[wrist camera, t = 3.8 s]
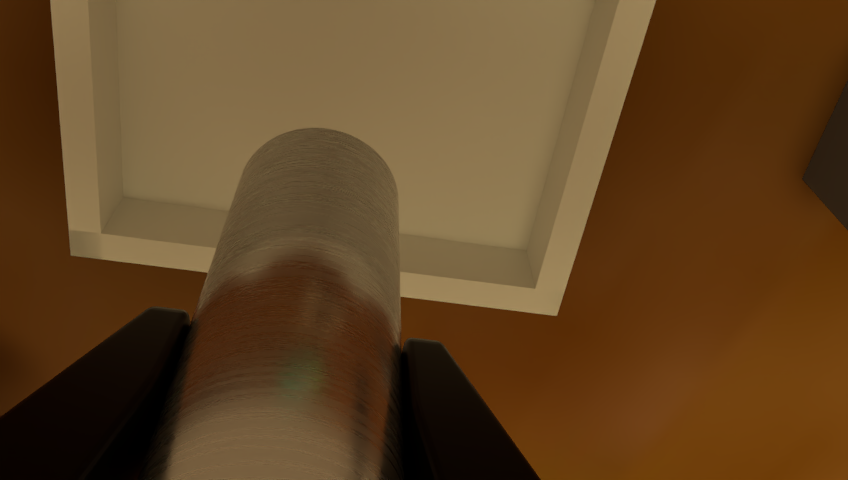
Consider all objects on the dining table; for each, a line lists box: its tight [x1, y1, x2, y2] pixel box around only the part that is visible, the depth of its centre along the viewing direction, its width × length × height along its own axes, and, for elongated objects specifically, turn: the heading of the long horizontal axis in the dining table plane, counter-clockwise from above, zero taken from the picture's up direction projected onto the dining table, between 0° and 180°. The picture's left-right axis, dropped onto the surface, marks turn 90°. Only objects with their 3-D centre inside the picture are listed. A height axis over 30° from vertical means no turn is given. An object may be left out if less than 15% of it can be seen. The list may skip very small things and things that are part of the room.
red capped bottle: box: [137, 128, 404, 480], centre depth 8 cm, size 3×3×9 cm
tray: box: [50, 0, 656, 316], centre depth 20 cm, size 13×10×2 cm
